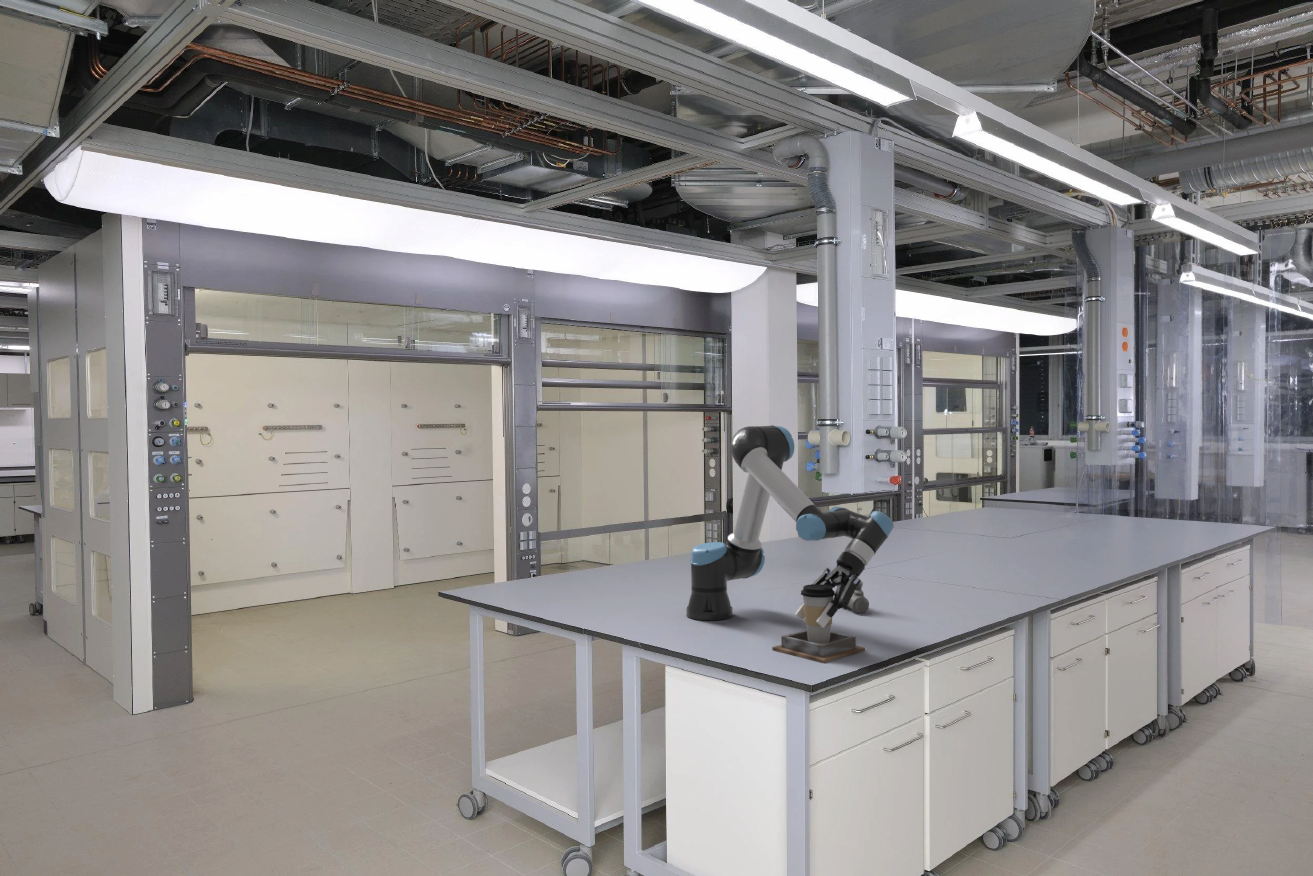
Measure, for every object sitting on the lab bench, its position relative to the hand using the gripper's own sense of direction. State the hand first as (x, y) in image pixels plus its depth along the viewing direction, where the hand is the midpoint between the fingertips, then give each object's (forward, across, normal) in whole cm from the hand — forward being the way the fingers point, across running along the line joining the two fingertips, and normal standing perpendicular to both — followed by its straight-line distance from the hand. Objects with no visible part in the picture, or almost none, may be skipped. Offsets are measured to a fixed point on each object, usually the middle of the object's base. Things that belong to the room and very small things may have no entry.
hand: (809, 621), depth 242 cm
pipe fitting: (-24, +36, -37) cm, 57 cm away
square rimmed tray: (+4, 0, -8) cm, 9 cm away
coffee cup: (+2, 0, -6) cm, 7 cm away
